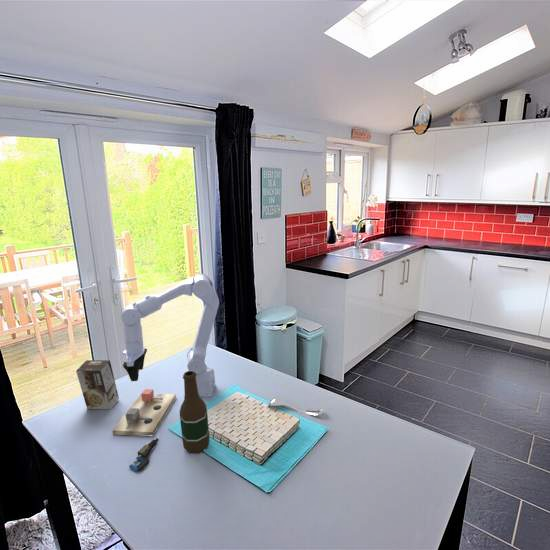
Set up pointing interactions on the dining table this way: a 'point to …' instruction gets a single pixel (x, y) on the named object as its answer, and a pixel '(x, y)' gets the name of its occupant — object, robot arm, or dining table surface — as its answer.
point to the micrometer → (143, 456)
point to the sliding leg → (149, 395)
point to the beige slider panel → (144, 416)
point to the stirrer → (278, 401)
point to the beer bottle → (193, 417)
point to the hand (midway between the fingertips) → (137, 374)
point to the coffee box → (97, 384)
